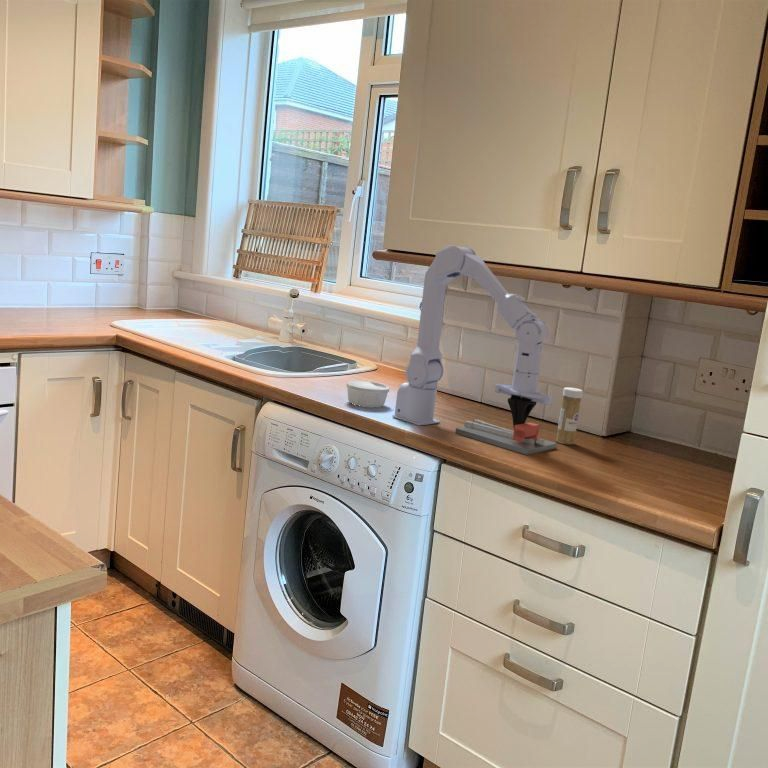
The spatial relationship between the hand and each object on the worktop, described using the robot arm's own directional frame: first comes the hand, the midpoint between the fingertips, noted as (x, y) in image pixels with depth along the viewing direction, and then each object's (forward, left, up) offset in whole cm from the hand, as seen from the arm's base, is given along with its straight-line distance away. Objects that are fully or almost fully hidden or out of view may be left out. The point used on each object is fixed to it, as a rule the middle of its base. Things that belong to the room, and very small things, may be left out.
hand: (518, 428), depth 189 cm
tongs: (-3, 0, -2) cm, 4 cm away
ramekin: (-44, -5, -4) cm, 44 cm away
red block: (+2, 0, -2) cm, 3 cm away
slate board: (-3, 0, -4) cm, 5 cm away
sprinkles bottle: (+5, +14, -4) cm, 15 cm away
